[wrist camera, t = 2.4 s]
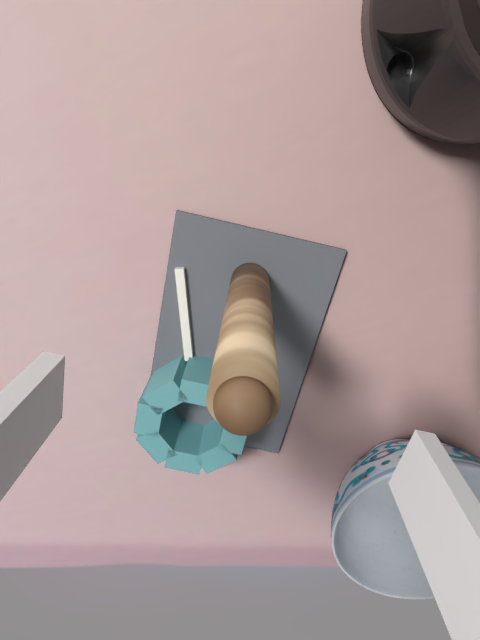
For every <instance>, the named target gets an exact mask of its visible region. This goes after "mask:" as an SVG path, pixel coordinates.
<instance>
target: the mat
mask: <svg viewBox="0 0 480 640" xmlns="http://www.w3.org/2000/svg"><path fill="white" fill-rule="evenodd" d="M346 252H347V251H346V250H345V249H341V248H337V247H332V246H328V245H324V244H320V243H315V242H311V241H307V240H303V239H298V238H294V237H290V236H286V235H281V234H277V233H273V232H269V231H264V230H260V229H256V228H252V227H247V226H243V225H239V224H235V223H230V222H226V221H222V220H218V219H213V218H209V217H205V216H201V215H196V214H192V213H188V212H184V211H179V210H177V211H176V215H175V222H174V228H173V235H172V241H171V248H170V254H169V261H168V267H167V274H166V280H165V287H164V293H163V300H162V306H161V313H160V319H159V326H158V332H157V339H156V345H155V352H154V358H153V365H152V371H151V376H152V375H153V373H154V371H155V370H157V369H159V368H161V367H162V366H164V365H166V364H168V363H169V362H171V361H173V360H175V359H177V358H178V357H180V356H182V355H183V357H184V351H183V342H182V333H181V324H180V315H179V306H178V297H177V287H176V278H175V268H176V267H185V275H186V285H187V295H188V306H189V316H190V326H191V336H192V346H193V355H196V356H200V357H205V358H210V359H214V357H215V352H216V347H217V343H218V338H219V333H220V328H221V324H222V319H223V314H224V309H225V305H226V300H227V295H228V290H229V286H230V281H231V276H232V274H233V272H234V270H235V269H236V268H237V267H238V266H240V265H242V264H244V263H256V264H259V265H260V266H262V267H263V268H264V269H265V270H266V271H267V273H268V276H269V283H270V293H271V304H272V314H273V325H274V335H275V345H276V356H277V366H278V377H279V387H280V398H281V404H280V409H279V411H278V413H277V415H276V417H275V418H274V419H273V420H272V421H271V422H270V423H269V424H267V425H266V426H265V427H264V428H263V429H261V430H260V431H258V432H257V433H254V434H252V435H247V437H246V440H245V444H244V446H245V447H250V448H255V449H260V450H265V451H269V452H274V453H278V452H279V449H280V446H281V443H282V440H283V437H284V434H285V431H286V428H287V425H288V422H289V419H290V417H291V414H292V411H293V408H294V405H295V402H296V399H297V396H298V393H299V390H300V387H301V384H302V381H303V378H304V375H305V372H306V369H307V366H308V364H309V361H310V358H311V355H312V352H313V349H314V346H315V343H316V340H317V337H318V334H319V331H320V328H321V325H322V322H323V319H324V316H325V313H326V310H327V308H328V305H329V302H330V299H331V296H332V293H333V290H334V287H335V284H336V281H337V278H338V275H339V272H340V269H341V266H342V263H343V260H344V257H345V255H346ZM187 362H188V361H187ZM172 409H173V410H174V411H175V412H176V413H177V415H178V416H179V417H180V418H181V420H183V421H188V422H193V423H197V424H202V425H205V424H207V423H209V422H211V421H213V420H215V419H214V418H213V417H212V416H211V414H210V412H209V410H208V408H207V407H205V406H200V405H196V404H191V403H186V402H182V403H180V404H178V405H176V406H175V407H173V408H172Z"/></svg>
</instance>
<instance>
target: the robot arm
mask: <svg viewBox="0 0 480 640" xmlns="http://www.w3.org/2000/svg"><path fill="white" fill-rule="evenodd" d="M361 33H362V45H363V52H364V57H365V62H366V66H367V69H368V73H369V75H370V78H371V81H372V83H373V85H374V88H375V90H376V92H377V93H378V95H379V97H380V99H381V100H382V102H383V103H384V105H385V106H386V107H387V108H388V110H389V111H390V112H391V113H392V114H393V115H394V116H395V117H396V118H397V119H398V120H399V121H400V122H401V123H402V124H404V125H405V126H406V127H408V128H409V129H411V130H412V131H414V132H416V133H418V134H420V135H422V136H424V137H427V138H429V139H433V140H436V141H440V142H445V143H453V144H470V143H480V0H363V5H362V17H361ZM64 366H65V356H63V355H59V354H54V353H49V352H44V351H43V352H42V353H41V354H40V355H39V356H38V357H37V358H36V359H35V360H34V361H32V362H31V363H30V364H29V365H28V366H27V367H26V368H25V369H24V370H23V371H22V372H21V373H20V374H18V375H17V376H16V377H15V378H14V379H13V380H12V381H11V382H10V383H9V384H8V385H7V386H6V387H4V388H3V389H2V390H1V391H0V501H1V500H2V498H3V497H4V496H5V494H6V493H7V492H8V490H9V489H10V487H11V486H12V485H13V483H14V482H15V481H16V479H17V478H18V477H19V475H20V474H21V473H22V471H23V470H24V468H25V467H26V466H27V464H28V463H29V462H30V460H31V459H32V458H33V456H34V455H35V453H36V452H37V451H38V449H39V448H40V447H41V445H42V444H43V443H44V441H45V440H46V439H47V437H48V436H49V434H50V433H51V432H52V430H53V429H54V428H55V426H56V425H57V424H58V422H59V421H60V419H61V418H62V406H63V386H64ZM388 484H389V486H390V489H391V491H392V494H393V496H394V499H395V501H396V503H397V506H398V508H399V511H400V513H401V516H402V518H403V521H404V523H405V526H406V528H407V531H408V533H409V536H410V538H411V540H412V543H413V545H414V548H415V550H416V553H417V555H418V558H419V560H420V563H421V565H422V568H423V570H424V572H425V575H426V577H427V580H428V582H429V585H430V587H431V590H432V592H433V595H434V597H435V600H436V602H437V604H438V607H439V609H440V612H441V614H442V617H443V619H444V622H445V624H446V627H447V629H448V632H449V634H450V637H451V639H452V640H480V503H479V501H478V500H477V498H476V497H475V495H474V494H473V492H472V490H471V489H470V487H469V486H468V484H467V483H466V481H465V480H464V478H463V477H462V475H461V473H460V472H459V470H458V469H457V467H456V466H455V464H454V463H453V461H452V459H451V458H450V456H449V455H448V453H447V452H446V450H445V449H444V447H443V445H442V444H441V442H440V441H439V439H438V438H437V436H436V435H435V434H434V433H430V432H425V431H420V430H415V431H414V433H413V435H412V437H411V439H410V441H409V443H408V445H407V447H406V449H405V451H404V453H403V455H402V457H401V459H400V461H399V463H398V465H397V467H396V469H395V471H394V473H393V475H392V477H391V479H390V481H389V483H388Z"/></svg>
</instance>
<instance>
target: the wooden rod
mask: <svg viewBox="0 0 480 640" xmlns="http://www.w3.org/2000/svg"><path fill="white" fill-rule="evenodd" d="M206 404H207V408H208V410H209V412H210V414H211V416H212V417H213V418H214V419H215V420H216V421H217V422H218V423H219V424H220V425H221V426H222V427H223V428H224V429H225V430H226V431H228V432H230V433H232V434H235V435H239V436H247V435H252V434H254V433H257V432H258V431H260V430H261V429H263V428H264V427H265V426H266V425H267V424H269V423H270V422H271V421H272V420H273V419H274V418H275V417H276V415H277V413H278V411H279V409H280V404H281V398H280V387H279V377H278V366H277V356H276V345H275V335H274V325H273V314H272V304H271V293H270V283H269V276H268V273H267V271H266V270H265V269H264V268H263V267H262V266H260V265H259V264H256V263H244V264H242V265H240V266H238V267H237V268H236V269H235V270H234V272H233V274H232V276H231V281H230V286H229V290H228V295H227V300H226V305H225V309H224V314H223V319H222V324H221V328H220V333H219V338H218V343H217V347H216V352H215V357H214V361H213V366H212V371H211V376H210V380H209V385H208V390H207V395H206Z"/></svg>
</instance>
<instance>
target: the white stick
mask: <svg viewBox="0 0 480 640" xmlns="http://www.w3.org/2000/svg"><path fill="white" fill-rule="evenodd" d="M175 278H176V287H177V297H178V306H179V315H180V324H181V333H182V342H183V351H184V360H185V361H188V359H189V357H191V358H193V346H192V336H191V326H190V316H189V306H188V295H187V285H186V275H185V267H176V268H175Z"/></svg>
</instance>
